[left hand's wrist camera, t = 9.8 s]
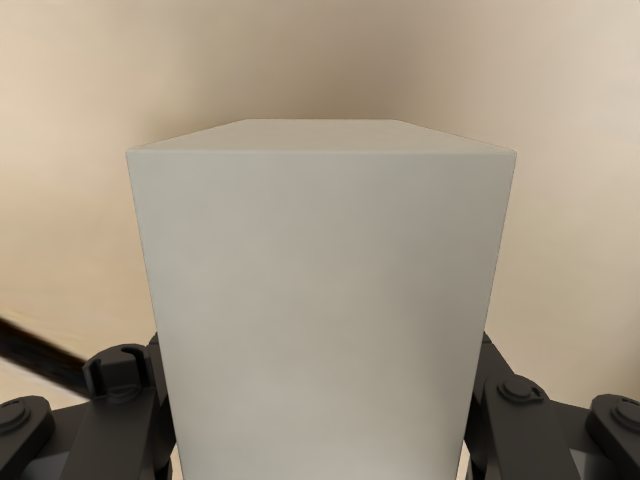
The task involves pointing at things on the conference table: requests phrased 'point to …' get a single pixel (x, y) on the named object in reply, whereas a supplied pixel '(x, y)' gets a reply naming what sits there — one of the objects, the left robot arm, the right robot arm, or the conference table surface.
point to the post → (320, 293)
